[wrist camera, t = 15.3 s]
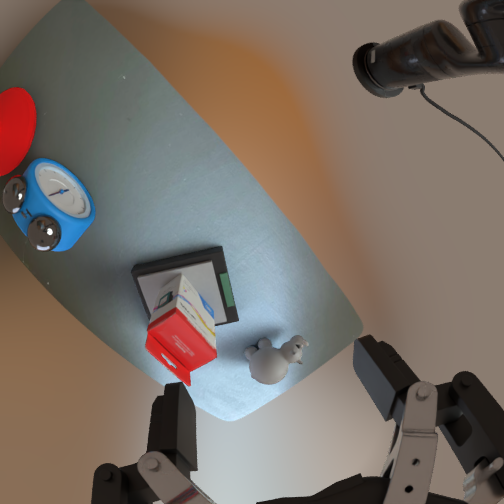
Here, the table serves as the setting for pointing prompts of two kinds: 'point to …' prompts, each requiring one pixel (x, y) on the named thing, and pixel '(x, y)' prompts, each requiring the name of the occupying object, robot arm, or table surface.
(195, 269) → the scale
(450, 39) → the robot arm
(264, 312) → the table surface
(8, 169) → the flat cone with hole
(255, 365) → the round bodied animal figurine
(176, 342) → the ink box
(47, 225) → the alarm clock
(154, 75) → the table surface
